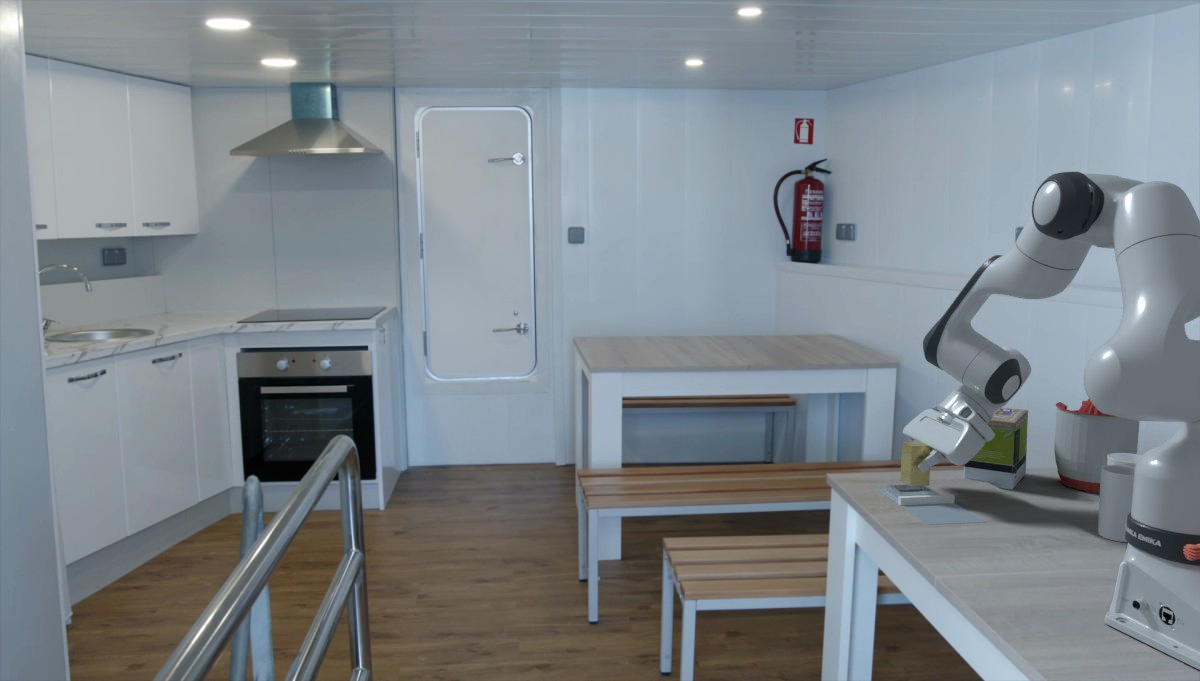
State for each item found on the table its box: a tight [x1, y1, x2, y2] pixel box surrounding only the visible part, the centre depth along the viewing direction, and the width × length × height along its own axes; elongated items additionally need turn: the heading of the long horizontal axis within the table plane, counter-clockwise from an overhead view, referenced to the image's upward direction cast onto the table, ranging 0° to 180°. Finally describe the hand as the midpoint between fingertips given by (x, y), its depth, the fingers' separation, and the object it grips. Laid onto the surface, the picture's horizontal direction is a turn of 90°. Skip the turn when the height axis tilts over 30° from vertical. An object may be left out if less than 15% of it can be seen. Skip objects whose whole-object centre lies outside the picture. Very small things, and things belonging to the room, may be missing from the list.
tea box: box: [963, 407, 1029, 490], centre depth 187 cm, size 15×10×15 cm, turn 144°
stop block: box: [899, 440, 931, 487], centre depth 172 cm, size 4×4×8 cm
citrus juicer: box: [1054, 398, 1141, 494], centre depth 182 cm, size 16×17×20 cm
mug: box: [1097, 465, 1135, 543], centre depth 153 cm, size 10×7×12 cm, turn 150°
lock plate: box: [875, 487, 987, 526], centre depth 167 cm, size 22×11×2 cm, turn 7°
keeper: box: [886, 483, 942, 498], centre depth 173 cm, size 8×8×1 cm
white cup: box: [1107, 453, 1143, 468], centre depth 168 cm, size 8×8×10 cm
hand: (912, 465), depth 172 cm, fingers closed on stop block, 4 cm apart
